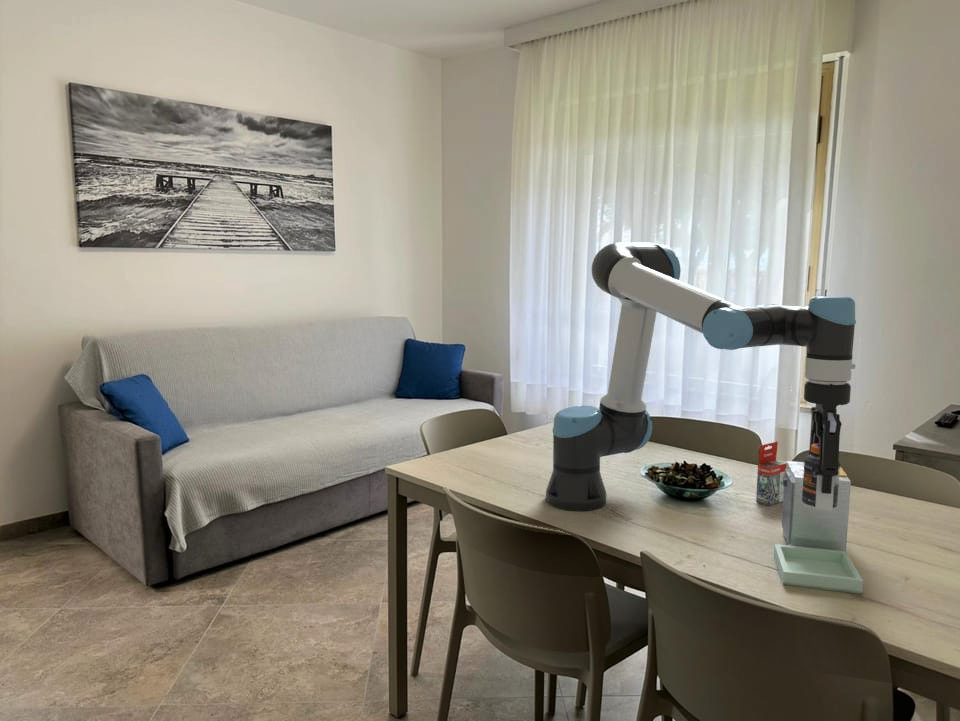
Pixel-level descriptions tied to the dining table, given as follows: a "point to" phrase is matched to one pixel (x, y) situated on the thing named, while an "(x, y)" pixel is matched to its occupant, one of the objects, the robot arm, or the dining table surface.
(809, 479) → the pill bottle
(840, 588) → the tray
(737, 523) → the dining table surface
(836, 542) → the unit
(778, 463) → the ink box
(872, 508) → the dining table surface
